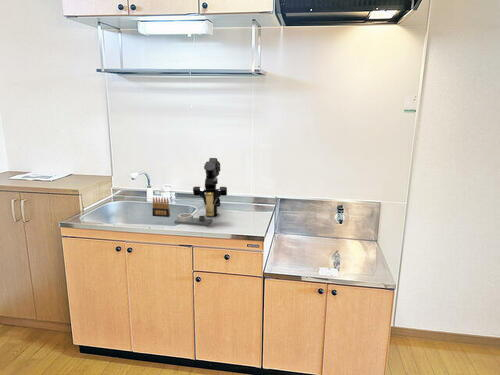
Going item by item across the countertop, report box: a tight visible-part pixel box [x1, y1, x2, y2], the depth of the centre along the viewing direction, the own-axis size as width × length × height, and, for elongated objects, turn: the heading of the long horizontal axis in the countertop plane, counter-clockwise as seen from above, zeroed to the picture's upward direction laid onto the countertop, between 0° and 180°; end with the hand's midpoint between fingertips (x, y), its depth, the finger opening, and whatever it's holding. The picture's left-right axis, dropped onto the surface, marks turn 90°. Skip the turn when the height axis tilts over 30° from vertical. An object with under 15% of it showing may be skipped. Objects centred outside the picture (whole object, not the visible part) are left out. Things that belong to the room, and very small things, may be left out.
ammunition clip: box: [152, 196, 171, 218], centre depth 225 cm, size 11×2×12 cm, turn 80°
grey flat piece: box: [173, 212, 213, 227], centre depth 215 cm, size 9×20×4 cm, turn 80°
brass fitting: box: [205, 191, 214, 217], centre depth 205 cm, size 4×4×13 cm
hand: (209, 204), depth 204 cm, fingers closed on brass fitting, 4 cm apart
